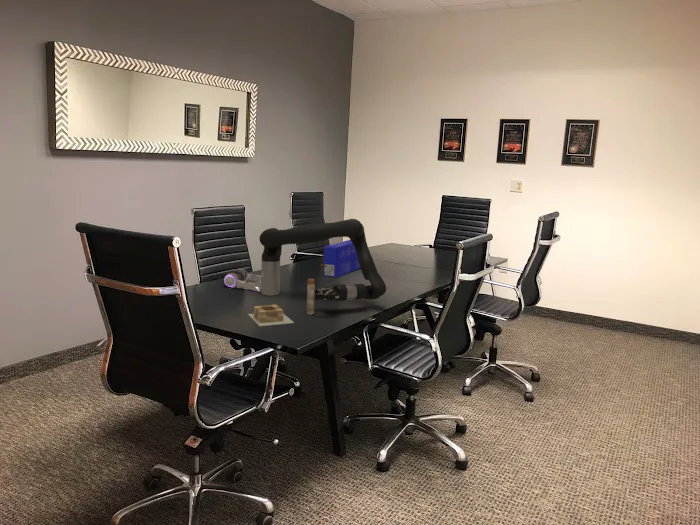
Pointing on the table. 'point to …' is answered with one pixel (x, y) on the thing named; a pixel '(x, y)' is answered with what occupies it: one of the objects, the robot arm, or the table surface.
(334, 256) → the toner cartridge box
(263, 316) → the wooden square frame
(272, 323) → the mat
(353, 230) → the robot arm
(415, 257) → the table surface
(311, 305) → the peg
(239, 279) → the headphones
